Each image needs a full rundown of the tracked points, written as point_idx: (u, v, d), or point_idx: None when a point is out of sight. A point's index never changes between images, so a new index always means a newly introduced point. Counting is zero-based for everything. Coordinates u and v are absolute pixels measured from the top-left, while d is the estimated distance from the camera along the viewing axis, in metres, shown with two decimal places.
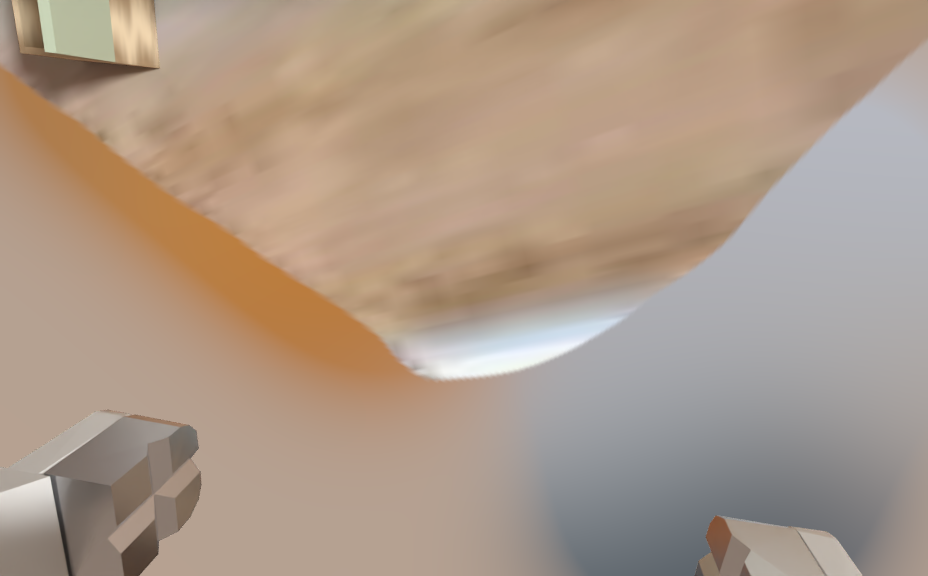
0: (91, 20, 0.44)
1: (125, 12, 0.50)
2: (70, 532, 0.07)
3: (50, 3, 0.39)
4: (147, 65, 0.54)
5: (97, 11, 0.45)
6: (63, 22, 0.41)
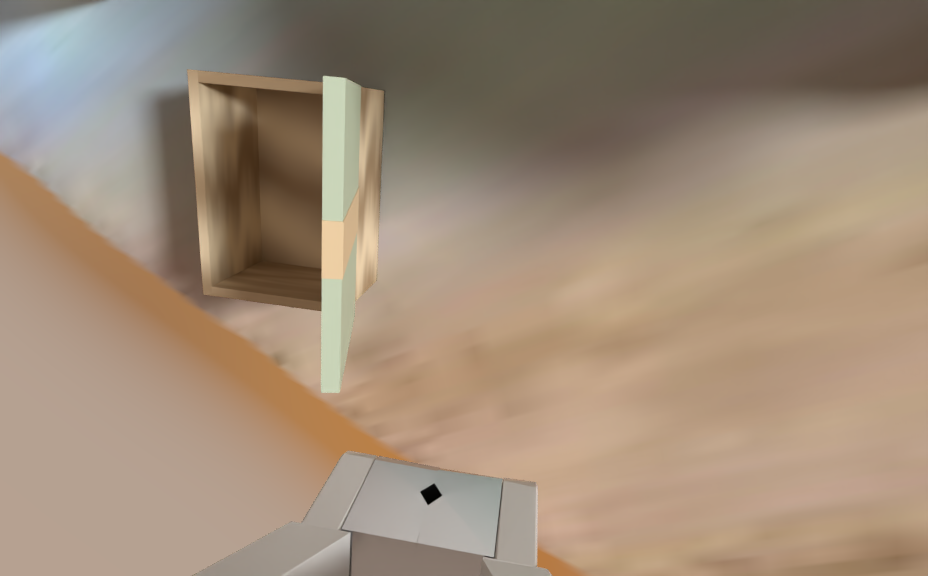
0: (351, 286, 0.28)
1: (360, 230, 0.33)
2: None
3: (340, 319, 0.22)
4: (369, 286, 0.37)
5: (353, 264, 0.28)
6: (343, 331, 0.24)
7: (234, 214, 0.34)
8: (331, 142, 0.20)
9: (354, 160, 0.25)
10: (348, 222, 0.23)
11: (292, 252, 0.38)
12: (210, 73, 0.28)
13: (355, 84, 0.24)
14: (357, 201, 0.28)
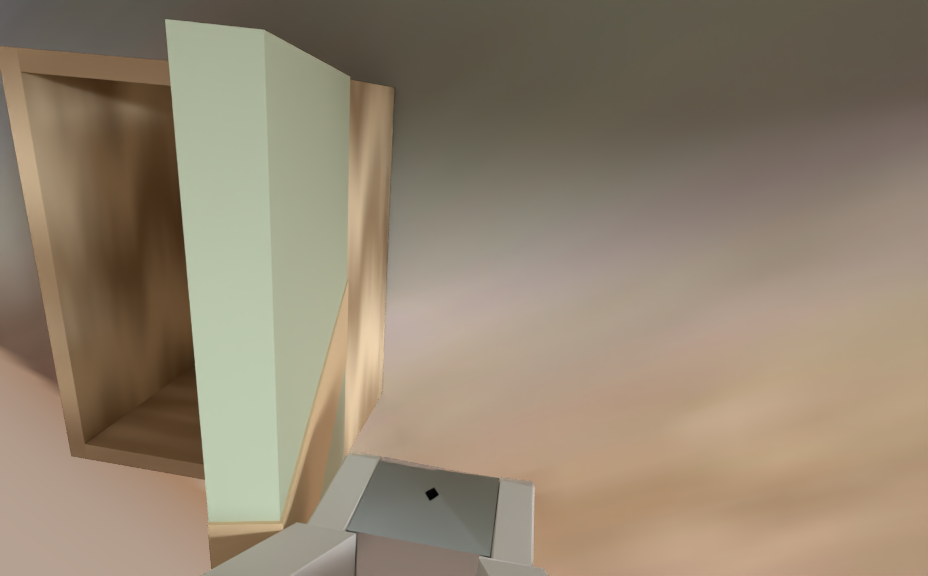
0: None
1: (353, 338, 0.18)
2: None
3: None
4: (369, 412, 0.22)
5: (337, 443, 0.14)
6: None
7: (133, 305, 0.19)
8: (222, 280, 0.05)
9: (333, 250, 0.11)
10: (312, 442, 0.09)
11: None
12: (42, 53, 0.14)
13: (330, 70, 0.09)
14: (344, 313, 0.14)
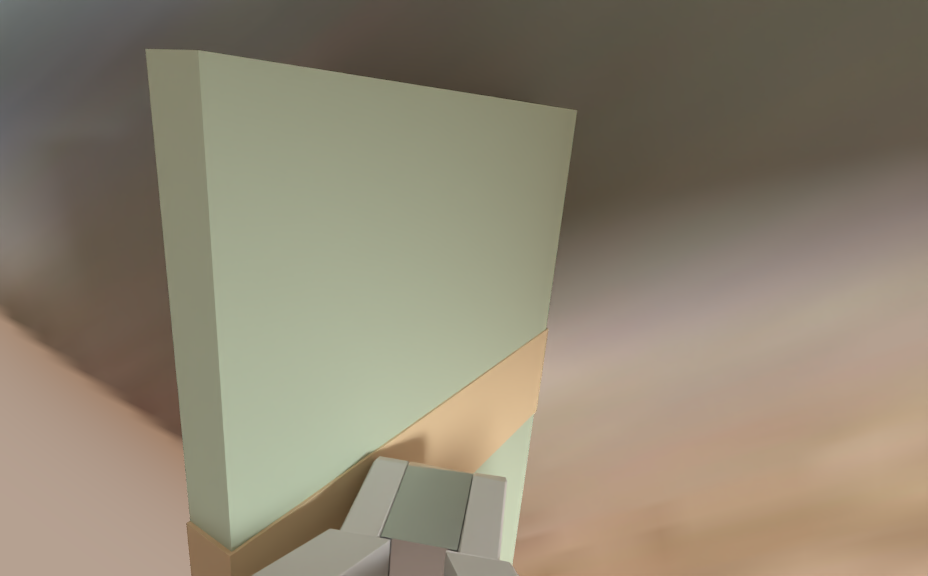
0: None
1: None
2: None
3: None
4: None
5: None
6: None
7: None
8: (186, 296, 0.05)
9: (485, 292, 0.10)
10: None
11: None
12: None
13: (488, 100, 0.09)
14: (527, 363, 0.13)
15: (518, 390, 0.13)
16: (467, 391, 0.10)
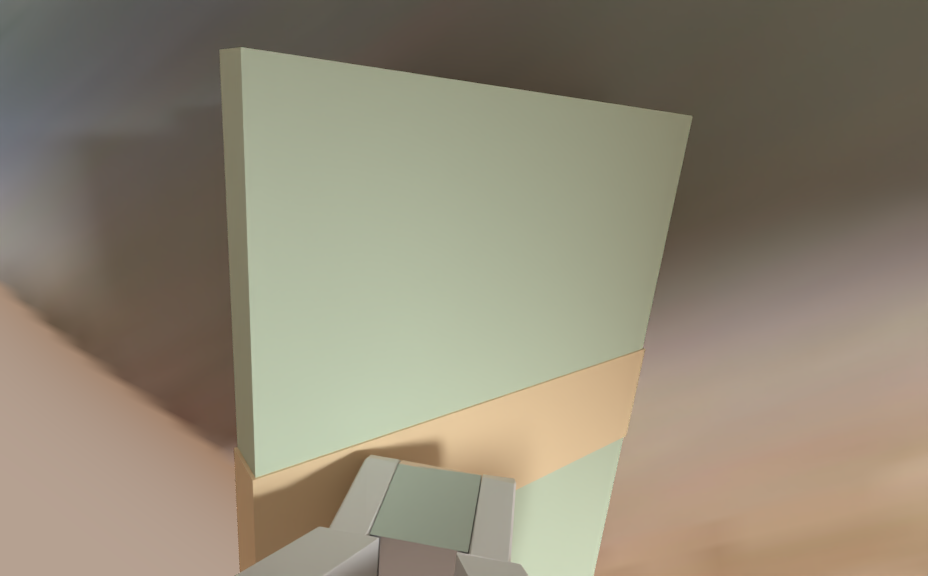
0: None
1: None
2: None
3: None
4: None
5: (556, 514, 0.12)
6: None
7: None
8: (235, 252, 0.06)
9: (554, 296, 0.10)
10: (399, 458, 0.09)
11: None
12: None
13: (562, 100, 0.08)
14: (613, 381, 0.12)
15: (599, 407, 0.12)
16: (528, 393, 0.10)
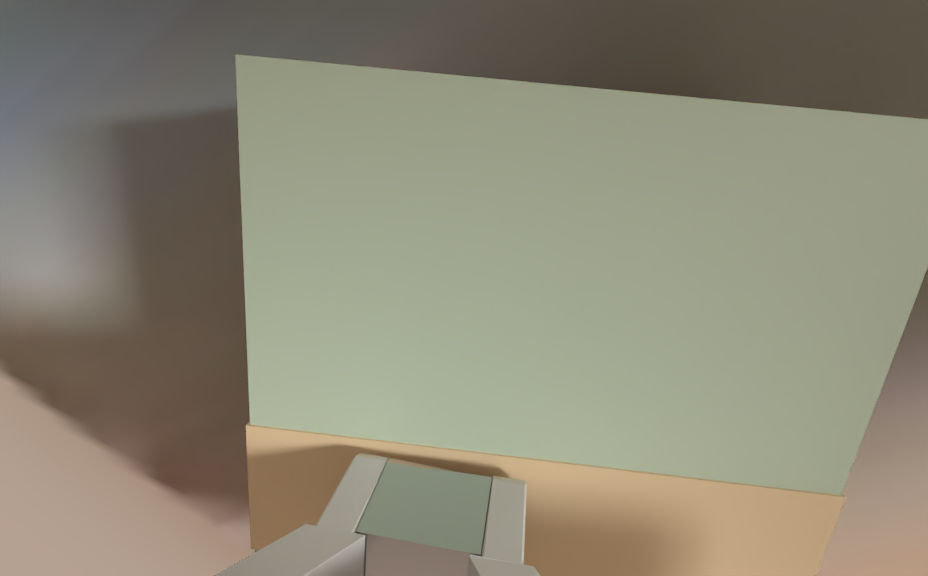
0: None
1: None
2: None
3: None
4: None
5: None
6: None
7: None
8: None
9: (629, 358, 0.07)
10: None
11: None
12: None
13: (638, 97, 0.06)
14: (763, 521, 0.08)
15: (730, 548, 0.08)
16: (581, 472, 0.08)
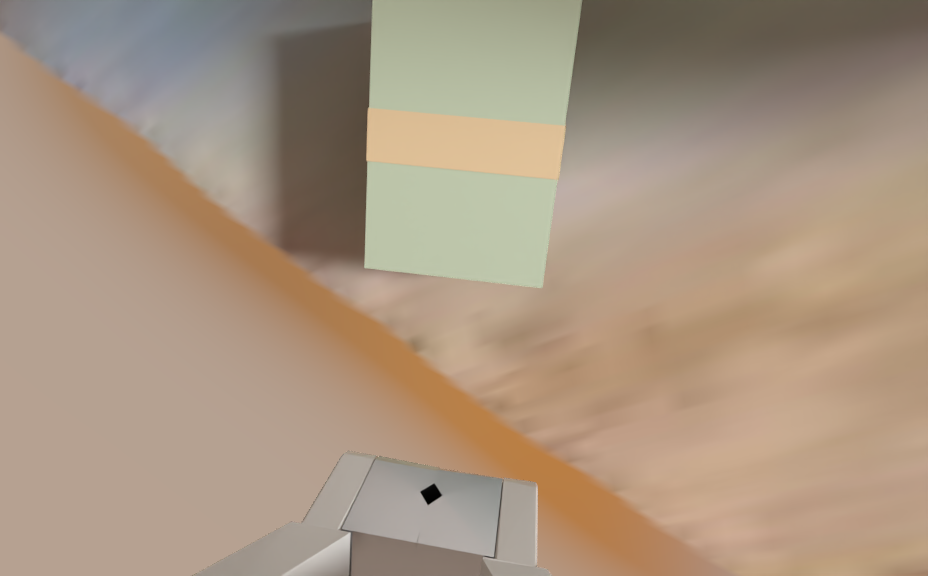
0: (480, 220, 0.25)
1: None
2: None
3: (370, 200, 0.26)
4: None
5: (507, 205, 0.25)
6: (395, 226, 0.26)
7: None
8: None
9: (492, 75, 0.23)
10: (416, 124, 0.24)
11: None
12: None
13: None
14: (540, 137, 0.24)
15: (531, 149, 0.24)
16: (479, 121, 0.24)
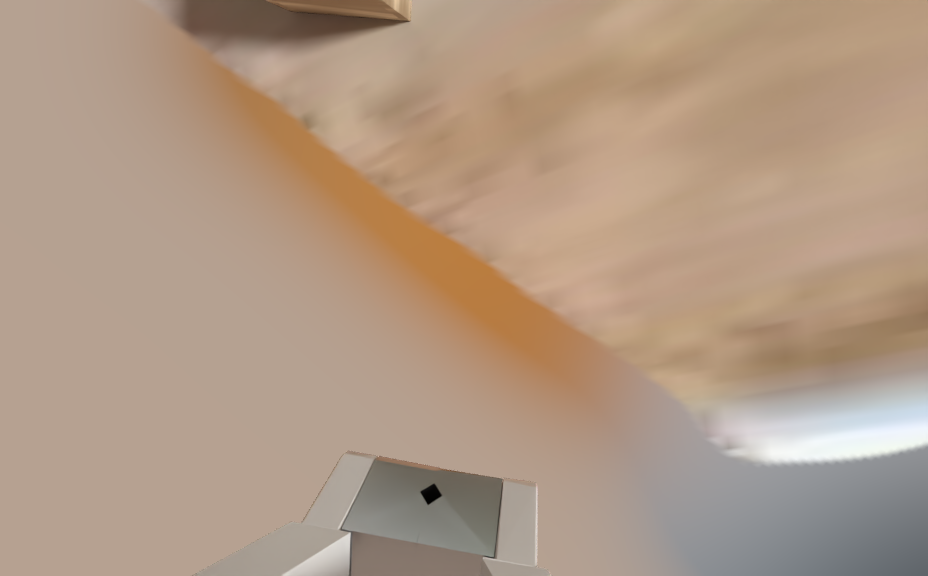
0: None
1: None
2: None
3: None
4: (404, 14, 0.36)
5: None
6: None
7: None
8: None
9: None
10: None
11: None
12: None
13: None
14: None
15: None
16: None
